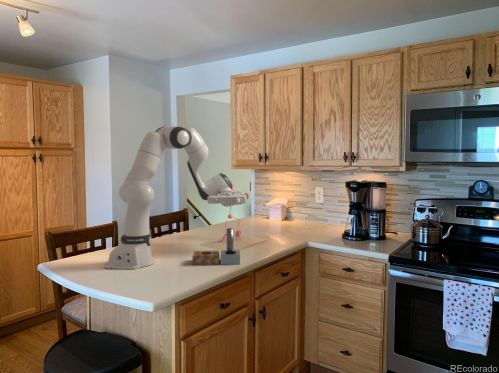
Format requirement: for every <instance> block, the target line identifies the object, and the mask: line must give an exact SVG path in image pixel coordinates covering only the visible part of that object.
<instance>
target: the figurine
mask: <svg viewBox="0 0 499 373" xmlns="http://www.w3.org/2000/svg"><path fill="white" fill-rule="evenodd" d="M232 190H233V191H235V192H237V191H236V189H235V184H234V183H232ZM243 194H245V195H246V197H247V200H248V199H249V197H250V196H249V193H248V192H243ZM218 195H220V193H219V194H218ZM216 196H217V195H216ZM231 211H232V206H229V214H227V215H228V216H227V218H226V220H225V225H227V222H228V220H229V219H232V218H233V219H236V220H238V222H237V226H238V227H237V230H236V231H235V233H234V236H235V237H236V239H239V240H242V237H241V234H242V231H241V229H239V227H240V219H239V218H236V217H234V216H233V214H231ZM226 238H227V231H225V233H224V234H223V237H221V242H223V241H224V240H225V239H226ZM218 239H219V240H220V237H218V238H216V239H213V240H212V241H213V242H214V241H215V240H218ZM248 239H250V237H248Z"/></svg>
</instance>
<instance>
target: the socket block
mask: <svg viewBox="0 0 499 373" xmlns="http://www.w3.org/2000/svg"><path fill="white" fill-rule="evenodd" d="M220 265H221V266H222V265H223V266H224V265H227V266H228V265H241V251H240V250H239V249H234V254H227V249H226V250H224V249H223V250H220Z"/></svg>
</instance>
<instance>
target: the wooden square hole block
mask: <svg viewBox="0 0 499 373" xmlns="http://www.w3.org/2000/svg"><path fill="white" fill-rule="evenodd" d="M219 264H220V250H193V253H192V266H217V265H218V266H219Z"/></svg>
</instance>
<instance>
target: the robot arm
mask: <svg viewBox="0 0 499 373" xmlns="http://www.w3.org/2000/svg"><path fill="white" fill-rule="evenodd" d="M166 149H170V150H175V149H178V150H179V149H183V150H184V151H185V153H186V154H187V157H188V160H187V161H186V164H187V168H188V171H189V173H190V176H191V177H192V180H193V182H194V184H195V186H196V189H197V193H198V196H199V197H200V198H201V199H202V200H203V201H207V204H208V205H211V204H213V205H215V204H216V205H217V204H221V205H222V206H223V207H227V208H228V207H229V208H230V206H231V207H232V206H237V205H239V206H240V205H244V204H247V200H248V199H247V197H246V195H245V194H244V192H243V191H236V192H235V191H233V190H232V184H233V183H232V182H231V180H230V178H229V177H228V176H227V175H226V174H225V173H221V172H219V173H218V174H216V175H214V176H212V177H211V178H210V179H207V180H205V181H202V178H201V176H200V174H199V170H200V168H201V166H202V165H203V164H204V162H206V160H207V159H208V157H209V151H210V149H209V148H208V145H207V143H206V142H205V140H204V139H203V137H202V136H201V134H200V133H199V132H198V131H197V130H196V128H193V127H192V126H187V127H182V126H175V125H168V126H167V125H166V126H161V127H158V128H157V129H156V130H155V131H149V132H147V133H146V134H145V136H144V137H143V139H142V141H141V143H140V145H139V147H138V150H137V152H136V155H135V159H134V161H133V164H132V166H131V169H130V170H129V172H128V174H127V176H126V178H125V179H124V181H123V183H122V184H121V186H120V187H119V190H118V193H119V195H118V196H119V197H120V198H121V200H122V201H123V202H124V203H126V204H127V207H126V208H127V209H126V214H125V217H124V234H122V235H121V237H120V239H119V240H120V242H121V243H120V244H118V245H117V246H116V247H115V248H113V249H112V250H111V252H110V253H109V256H108V260H107V261H106V262H104V264H103V268H104V269H111V268H112V269H116V270H117V269H118V270H136V269H140V268H143V267H144V268H146V267H149V266H151V265H153V264H154V263H155V261H154V257H153V254H152V247H151V246H152V245H151V244H152V237H151V233H150V216H151V215H150V214H151V208H152V202H154V201H153V200H154V199H155V191H154V189H153V187H151V185H149V184H150V182H151V180H152V179H153V177H155V175H156V174H157V171H158V167H159V165H160V162H161V160H162V156H163V152H164V151H165V150H166ZM219 193H220V194H219ZM216 195H217V196H216Z"/></svg>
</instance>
